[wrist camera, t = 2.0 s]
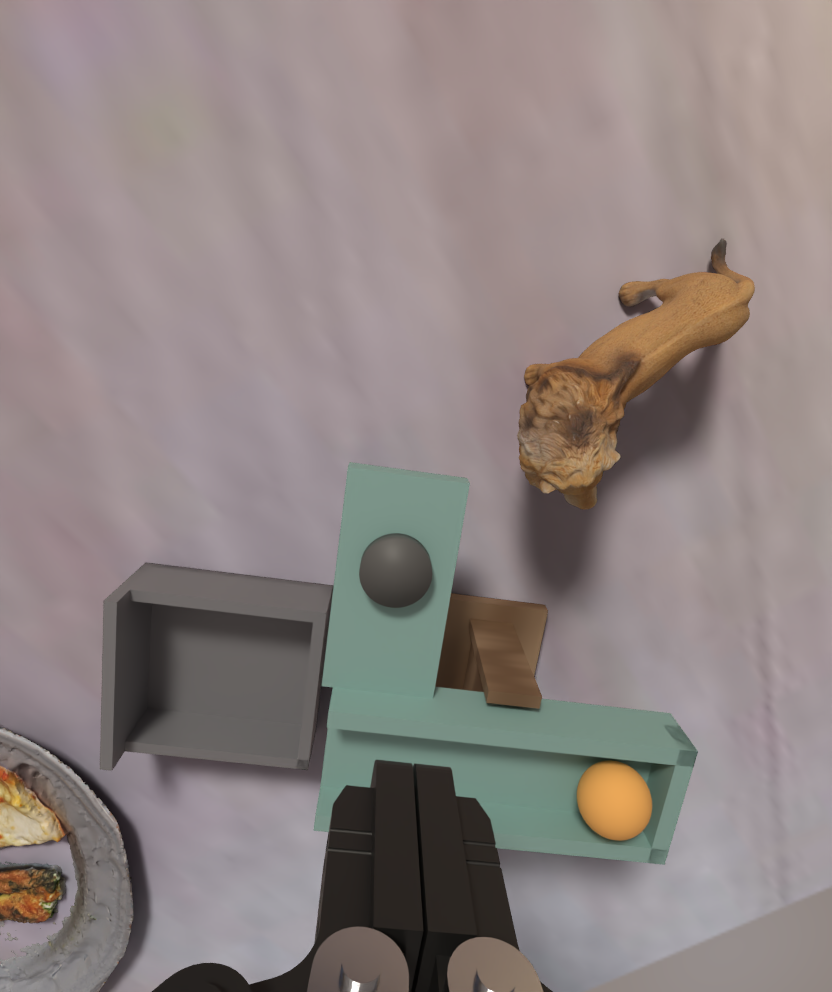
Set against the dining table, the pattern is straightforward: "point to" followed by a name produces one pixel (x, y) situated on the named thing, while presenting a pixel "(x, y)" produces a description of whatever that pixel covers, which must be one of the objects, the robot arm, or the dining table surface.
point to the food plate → (36, 888)
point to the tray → (212, 666)
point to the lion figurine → (621, 376)
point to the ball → (614, 800)
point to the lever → (461, 713)
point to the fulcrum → (492, 649)
